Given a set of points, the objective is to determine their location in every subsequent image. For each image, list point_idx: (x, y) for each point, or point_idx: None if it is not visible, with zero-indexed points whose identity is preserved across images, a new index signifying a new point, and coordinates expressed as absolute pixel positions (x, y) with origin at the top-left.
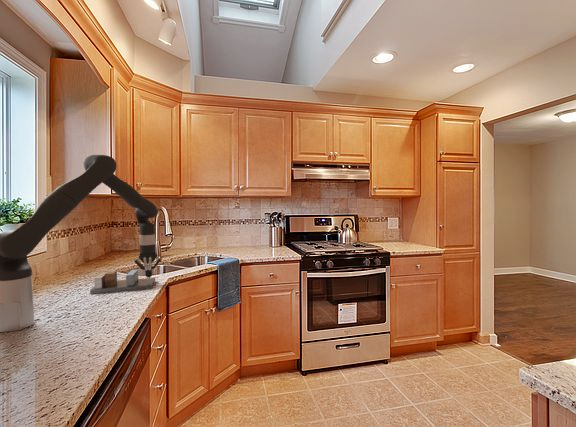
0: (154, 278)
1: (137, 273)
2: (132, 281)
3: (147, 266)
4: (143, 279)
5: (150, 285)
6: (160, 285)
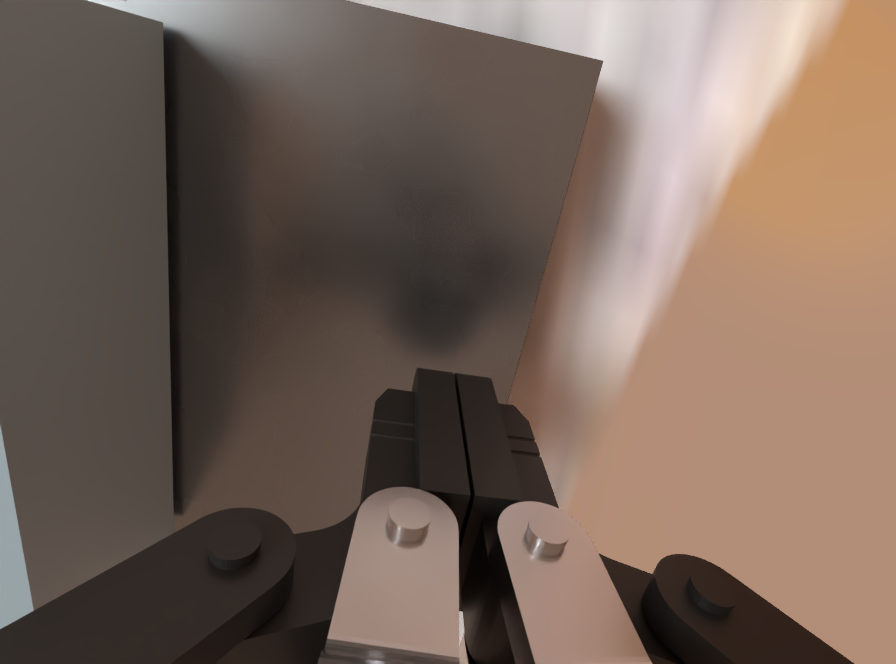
0: (572, 138)
1: (58, 141)
2: None
3: (424, 635)
4: (310, 106)
5: None
6: (605, 385)
